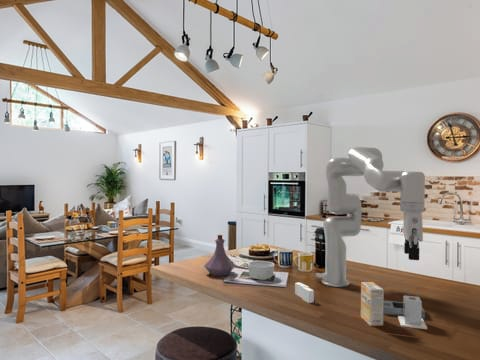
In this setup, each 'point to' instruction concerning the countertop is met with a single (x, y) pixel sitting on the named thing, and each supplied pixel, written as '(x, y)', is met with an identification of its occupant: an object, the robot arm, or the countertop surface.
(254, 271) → the ramekin
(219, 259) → the flask
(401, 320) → the coaster
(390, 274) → the countertop surface
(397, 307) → the grey recessed block
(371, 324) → the supplement box
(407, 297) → the grey rectangular block
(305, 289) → the white double box
